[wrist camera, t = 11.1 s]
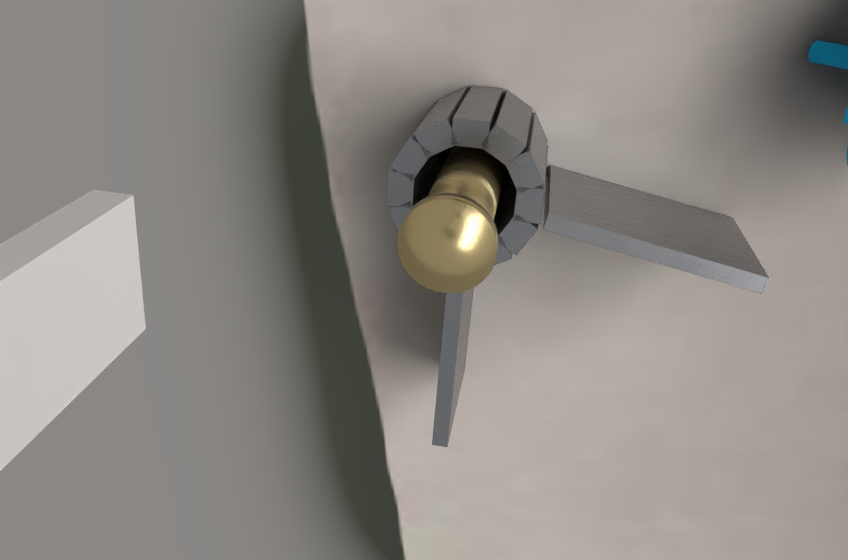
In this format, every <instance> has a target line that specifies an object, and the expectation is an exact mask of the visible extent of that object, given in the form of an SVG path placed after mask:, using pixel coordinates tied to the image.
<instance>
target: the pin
mask: <svg viewBox="0 0 848 560" xmlns="http://www.w3.org/2000/svg"><path fill="white" fill-rule="evenodd" d="M505 170H506V165H505V164H503V163H502V162H501V161H499V160H498V159H497V158H495V157H494V156H492V155H491V154H490V153H488V152H487V151H485V150H484V149H481V148H472V147H463V146H453V147H452V149H451V151H450V153H449V155H448V157H447V159H446V161H445V163H444V165H443V167H442V169H441V171H440V173H439V175H438V177H437V179H436V181H435V183H434V185H433V187H432V189H431V191H430V193H429V195H428V197H426V198H424V199H422V200H421V201H419V202H418V203H417V204H416V205H414V206H413V207H412V209H411V210H410V211H409V212H408V214H407V215H406V217H405V219H404V221H403V223H402V225H401V227H400V229H399V233H398V237H397V251H398V256H399V259H400V261H401V264H402V266H403V267H404V269H405V271H406V272H407V273H408V275H409V276H410V277H411V278H412V279H413V280H414V281H416V282H417V283H418V284H420V285H421V286H423V287H425V288H427V289H429V290H432V291H435V292H440V293H459V292H463V291H466V290H469V289H471V288H473V287H475V286H477V285H478V284H479V283H481V282H482V281H483V280H484V279H485V278H486V277H487V276H488V274H489V273H490V271H491V270H492V268H493V266H494V263H495V260H496V255H497V250H498V232H497V228H496V225H495V223H494V217H495V213H496V209H497V204H498V200H499V196H500V192H501V187H502V183H503V179H504V174H505Z"/></svg>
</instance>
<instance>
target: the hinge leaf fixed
mask: <svg viewBox="0 0 848 560" xmlns="http://www.w3.org/2000/svg"><path fill="white" fill-rule="evenodd" d="M502 92H503V88H493V87H483V86H473V85H472V87H471V88H470V90H469V89H468V87H464V88H462V89H460V90H458V91H456V92H454V93H451V94H449V95H447V96H445V97H443V98H441V99H439V101H438V102H436V103H435V104H434V105H433V107H432V108H431V109H430V111H429V112H428V113H427V115H426V116H425V117H424V119H423V120H422V121H421V123H420V124H419V125H418V127H417V128H416V129H415V131H414V132H413V133H412V135H411V136H410V137H409V139H408V140H407V142H406V143H405V145H404V146H403V148H402V149H401V151H400V152H399V153H398V155H397V156H396V158H395V159H394V161H393V162H392V164H391V165H390V166H391V168H390V169H389V171H388V183H387V202H386V205H390V207H389V209H388V213H389V215H390V217H391V219H392V221H393V223H394V224H395V226H396V228H397V230H398V232H399V229H400V227H401V225H402V223H403V221H404V219H405V217H406V215H407V214H408V212H409V211H410V210H411V209H412V207H413V206H414V205H416V204H417V203H418V202H419V201H421V200H422V199H424V198H426V197H428V195H429V193H430V191H431V189H432V187H433V185H434V183H435V181H436V179H437V177H438V175H439V173H440V171H441V169H442V167H441V165H440V163H439V161H438V153H439V152H441V151H444V150H446V149H448V148H450V147H453V146H463V147H472V148H481V149H484V150H485V151H487V152H488V153H490V154H491V155H492V156H494V157H495V158H497V159H498V160H499V161H501V162H502V163H503V164H505V165H506V167H507V169H508V171H509V173H510V176H511V178H512V180H513V181H512V182H511V183H510V184H509V186H507V187H505V188H502V189H501V192H500V196H499V200H498V204H497V209H496V213H495V217H494V223H495V225H496V228H497V232H498V250H497V255H496V260H495V263H494V265H496V264H499V263H501V262H504V261H507V260H509V259H512V253H514V254H515V255H517V254H518V253H519V251H520V250H521V249H522V248H523V246H524V245H525V244H526V243H527V242H528V240H529V239H530V238H531V237H532V235H533V234H534V233H535V232H536V231H537V229H538V224H540V221H541V214H542V207H543V200H544V193H545V181H546V166H547V151H548V145H547V139H546V136H545V134H544V131H543V129H542V127H541V124H540V122H539V120H538V117H537V115H536V113H533V114H532V108H531V107H530V106H528V105H527V104H525V103H524V102H523V101H521V100H520V99H519V98H517V97H516V96H515V95H513V94H512V93H511V92H509V91H507V92H506V93H505V95H504V96H503V97H502ZM473 288H474V287H473ZM473 288H471V289H469V290H466V291H463V292H459V293H446V300H445V311H444V322H443V332H442V343H441V354H440V365H439V375H438V386H437V397H436V408H435V418H434V429H433V440H432V445H437V446H444V447H447V446H448V442H449V437H450V433H451V428H452V424H453V419H454V415H455V410H456V406H457V401H458V397H459V393H460V388H461V384H462V379H463V375H464V370H465V361H466V352H467V343H468V334H469V325H470V315H471V306H472V297H473Z"/></svg>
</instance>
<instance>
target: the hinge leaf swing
mask: <svg viewBox="0 0 848 560" xmlns="http://www.w3.org/2000/svg"><path fill="white" fill-rule="evenodd" d="M543 230H546V231H549V232H553V233H556V234H560V235H563V236H566V237H570V238H573V239H577V240H580V241H583V242H587V243H590V244H594V245H597V246H600V247H604V248H607V249H611V250H614V251H617V252H621V253H624V254H628V255H631V256H634V257H638V258H641V259H645V260H648V261H651V262H655V263H658V264H662V265H665V266H668V267H672V268H675V269H679V270H682V271H685V272H689V273H692V274H696V275H699V276H702V277H706V278H709V279H713V280H716V281H719V282H723V283H726V284H730V285H733V286H736V287H740V288H743V289H747V290H750V291H753V292H757V293H760V294H762V292H763V290H764V288H765V286H766V284H767V282H768V280H769V277H768V275H767V273H766V272H765V270H764V269H763V267H762V265H761V264H760V262H759V260H758V259H757V257H756V255H755V254H754V252H753V250H752V249H751V247H750V245H749V244H748V242H747V240H746V239H745V237H744V235H743V234H742V232H741V230H740V229H739V227H738V225H737V224H736V222H735V220H734V219H733V218H730V217H727V216H724V215H720V214H717V213H713V212H710V211H706V210H703V209H699V208H696V207H693V206H689V205H686V204H682V203H679V202H675V201H672V200H668V199H665V198H662V197H658V196H655V195H651V194H648V193H644V192H641V191H637V190H634V189H631V188H627V187H624V186H620V185H617V184H613V183H610V182H606V181H603V180H600V179H596V178H593V177H589V176H586V175H582V174H579V173H576V172H572V171H569V170H565V169H562V168H558V167H555V166H551V167H550V170H549V173H548V176H547V179H546V193H545V209H544V225H543Z"/></svg>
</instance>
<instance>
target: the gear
mask: <svg viewBox="0 0 848 560" xmlns="http://www.w3.org/2000/svg"><path fill="white" fill-rule="evenodd" d="M808 60H809V61H810V62H813V63H818V64H823V65H828V66H832V67H837V68H842V69H847V70H848V46H847V45H841V44H836V43H830V42H824V41H819V40H817V41H815V42H814V43H813V44H812V45H811V47H810V49H809V53H808ZM844 123H846V124H848V106H847V109H846V113H845V117H844ZM847 164H848V148H847Z"/></svg>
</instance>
